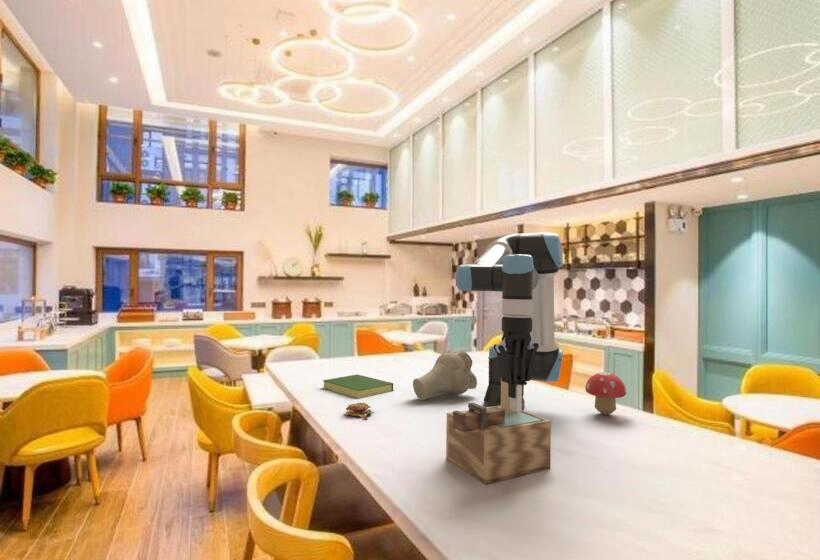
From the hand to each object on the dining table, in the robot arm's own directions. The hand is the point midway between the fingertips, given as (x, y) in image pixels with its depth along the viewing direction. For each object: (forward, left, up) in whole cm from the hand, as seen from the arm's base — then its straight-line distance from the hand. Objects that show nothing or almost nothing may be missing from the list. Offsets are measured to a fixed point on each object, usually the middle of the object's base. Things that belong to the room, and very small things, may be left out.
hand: (515, 410), depth 116 cm
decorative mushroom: (-61, -22, -15) cm, 66 cm away
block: (+11, 0, -2) cm, 11 cm away
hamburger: (+17, -59, -15) cm, 63 cm away
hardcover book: (+4, -95, -15) cm, 96 cm away
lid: (0, -4, -4) cm, 6 cm away
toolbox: (+5, -4, -15) cm, 16 cm away
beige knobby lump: (-21, -69, -15) cm, 74 cm away
